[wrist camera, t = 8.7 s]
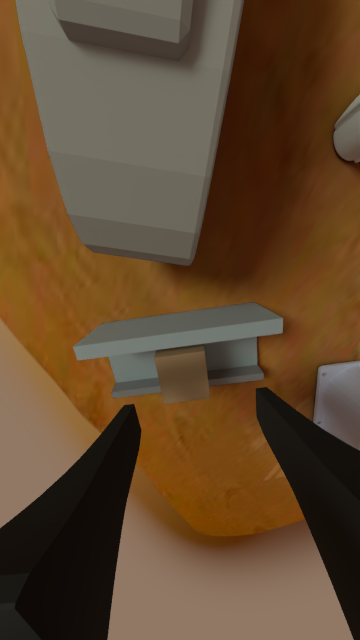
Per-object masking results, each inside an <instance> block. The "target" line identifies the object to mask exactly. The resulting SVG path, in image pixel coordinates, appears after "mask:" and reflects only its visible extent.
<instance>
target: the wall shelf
mask: <svg viewBox="0 0 360 640" xmlns="http://www.w3.org/2000/svg"><path fill="white" fill-rule="evenodd" d="M280 333H283V318H282V317H280V316H278V315H277V314H275V313H273V312H271V311H269V310H267V309H266V308H264V307H262V306H260V305H258V304H257V303H255V302H251V303H244V304H237V305H229V306H222V307H215V308H208V309H201V310H194V311H187V312H180V313H172V314H165V315H158V316H151V317H144V318H137V319H130V320H123V321H116V322H108V323H102V324H100V325H99V326H98V327H97V328H96V329H94V330H93V331H92V332H91V333H89V334H88V335H87V336H86V337H84V338H83V339H82V340H81V341H80V342H78V343H77V344H76V345H75V346H73V348H74V351H75V354H76V357H77V360H85V359H93V358H100V357H108V356H109V360H110V363H111V367H112V370H113V373H114V377H115V380H116V384H115V386H114V388H113V390H112V392H111V393H112V396H113V398H120V397H128V396H136V395H144V394H152V393H160V392H161V388H160V383H159V379H158V374H157V369H156V365H155V360H154V356H155V352H156V350H160V349H167V348H175V347H182V346H190V345H197V344H203V347H204V351H205V359H206V367H207V375H208V383H209V386H216V385H224V384H232V383H240V382H249V381H257V380H264V373H263V371H262V370H261V369H260V367H259V366H258V365H257V336H265V335H272V334H280Z"/></svg>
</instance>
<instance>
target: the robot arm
mask: <svg viewBox="0 0 360 640" xmlns="http://www.w3.org/2000/svg"><path fill="white" fill-rule="evenodd" d="M323 373H324V374H323ZM256 412H257V419H258V421H259V424H260V426H261V429H262V431H263V434H264V436H265V438H266V440H267V442H268V444H269V446H270V447H271V449H272V451H273V453H274V455H275V457H276V459H277V461H278V463H279V464H280V466H281V468H282V470H283V472H284V474H285V476H286V478H287V480H288V482H289V484H290V486H291V488H292V490H293V492H294V494H295V496H296V499H297V501H298V503H299V505H300V508H301V510H302V512H303V515H304V517H305V519H306V522H307V524H308V526H309V529H310V531H311V534H312V536H313V538H314V541H315V543H316V545H317V548H318V550H319V553H320V555H321V557H322V560H323V563H324V565H325V568H326V570H327V572H328V575H329V577H330V580H331V582H332V585H333V587H334V590H335V592H336V595H337V598H338V600H339V603H340V605H341V608H342V610H343V613H344V616H345V618H346V620H347V623H348V626H349V628H350V631H351V634H352V636H353V639H354V640H360V361H353V362H345V363H337V364H329V365H322V366H320V367H319V369H318V377H317V387H316V398H315V409H314V419H313V422H312V421H310V420H309V419H308V418H306V417H305V416H303V415H302V414H301V413H299V412H298V411H296V410H295V409H294V408H292V407H291V406H290V405H288V404H287V403H286V402H285V401H283V400H282V399H281V398H279V397H278V396H277V395H276V394H274V393H273V392H272V391H271V390H269V389H268V388H267V387H264V388H256ZM140 438H141V427H140V424H139V420H138V416H137V413H136V409H135V406H134V404H131V405H124V406H123V407H122V409H121V410H120V411H119V412H118V414H117V415H116V416H115V417H114V419H113V420H112V421H111V422H110V424H109V425H108V426H107V427H106V429H105V430H104V431H103V432H102V434H101V435H100V436H99V437H98V438H97V440H96V441H95V442H94V443H93V444H92V445H91V447H90V448H89V449H88V450H87V451H86V452H85V453H84V454H83V455H82V456H81V458H80V459H79V460H78V461H77V462H76V463H75V464H74V465H73V466H72V467H71V468H70V469H69V470H68V471H67V472H66V473H65V474H64V475H63V476H62V477H60V478H59V479H58V480H57V481H56V482H55V483H54V484H53V485H52V486H51V487H49V488H48V489H47V490H46V491H45V492H44V493H43V494H42V495H41V496H40V497H38V498H37V499H36V500H35V501H34V502H32V503H31V504H30V505H29V506H28V507H26V508H25V509H24V510H23V511H21V512H20V513H19V514H18V515H17V516H15V517H14V518H13V519H12V520H10V521H9V522H8V523H6V524H5V525H4V526H3V527H1V528H0V640H107V638H108V629H109V620H110V611H111V603H112V595H113V587H114V580H115V572H116V565H117V558H118V551H119V544H120V538H121V530H122V524H123V519H124V513H125V507H126V502H127V497H128V493H129V489H130V485H131V481H132V477H133V472H134V468H135V464H136V460H137V456H138V452H139V446H140Z"/></svg>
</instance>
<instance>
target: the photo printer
mask: <svg viewBox="0 0 360 640" xmlns="http://www.w3.org/2000/svg"><path fill="white" fill-rule="evenodd" d="M334 127H335V129H336V130H335V132H334V136H333V140H334V146H335V149H336V151H337V153H338V154H339V155H340V156H341V157H342V158H343V159H345V160H347V161H352V160H354V162H355V163H358V162H360V95H359V96H358V97H357V98H356V99H355V100H354V101H353V102H352V103H351V104H350V106H349V107H348V108H347V109H346V110H345V112H344V113H343V114H342V116H341V117H340V118H339V119H338V121H337V122H336V124H335V125H334Z"/></svg>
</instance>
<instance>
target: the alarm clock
mask: <svg viewBox="0 0 360 640" xmlns="http://www.w3.org/2000/svg"><path fill="white" fill-rule="evenodd" d="M243 5H244V0H16V6H17V12H18V18H19V24H20V30H21V34H22V39H23V43H24V47H25V52H26V56H27V61H28V65H29V70H30V74H31V79H32V83H33V87H34V92H35V96H36V101H37V105H38V110H39V114H40V118H41V123H42V127H43V132H44V136H45V141H46V145H47V149H48V153H49V156H50V159H51V162H52V166H53V169H54V172H55V175H56V178H57V182H58V185H59V188H60V191H61V194H62V198H63V201H64V204H65V207H66V210H67V213H68V216H69V218H70V220H71V222H72V224H73V226H74V228H75V230H76V232H77V234H78V236H79V238H80V240H81V242H82V244H84V245H85V246H86V247H88V248H89V249H90V250H91V251H93V252H94V253H101V254H108V255H115V256H122V257H129V258H136V259H143V260H150V261H157V262H164V263H171V264H178V265H185V266H189V265H191V264H192V262H193V259H194V257H195V254H196V250H197V246H198V241H199V237H200V233H201V229H202V224H203V219H204V214H205V209H206V204H207V199H208V194H209V189H210V184H211V179H212V174H213V169H214V163H215V158H216V153H217V147H218V142H219V137H220V131H221V126H222V121H223V115H224V110H225V105H226V100H227V94H228V89H229V84H230V78H231V73H232V67H233V61H234V56H235V50H236V44H237V39H238V33H239V28H240V22H241V16H242V11H243Z"/></svg>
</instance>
